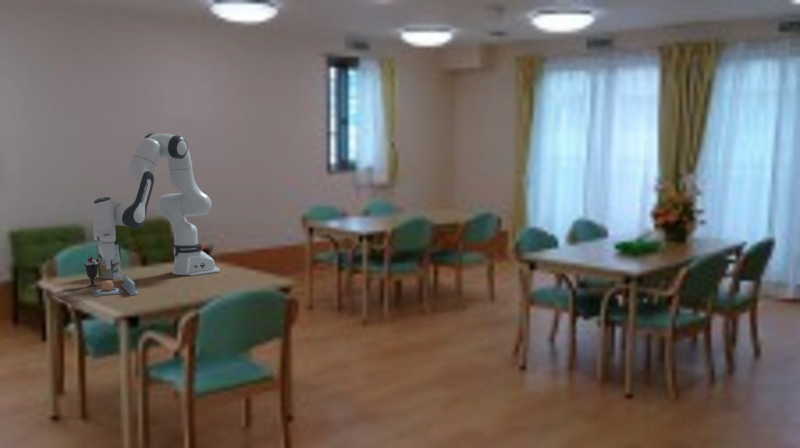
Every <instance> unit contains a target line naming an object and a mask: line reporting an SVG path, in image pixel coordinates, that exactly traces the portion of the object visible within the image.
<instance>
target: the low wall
mask: <svg viewBox="0 0 800 448" xmlns="http://www.w3.org/2000/svg"><path fill="white" fill-rule="evenodd" d="M122 277H123V284H121V287H122V288H123V289H124V290H125V292H126V293H128V294H129V296H138V295H139V293H138V291H137V290H136V283H135V282H134V280H133V279H131V278H130V277H129V275H127V274H123V275H122Z"/></svg>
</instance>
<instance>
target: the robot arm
mask: <svg viewBox="0 0 800 448" xmlns="http://www.w3.org/2000/svg"><path fill="white" fill-rule="evenodd" d="M188 146H189V144H188V142H187V140H186V138H185V137H183V136H181V135H175V134H172V133H157V132H151V133H147V135H145V136H144V138H143V139H141V140H140V142H139V143H138V144H137V147H136V148H135V149H134V151H133V153H132V156H131V157H130V160H129V161H128V165H127V170H128V173H129V175H130V176H131V178H132V179H134V180H135V181H136V182H137V189H136V192H135V195H134V199H133V201H132V202H131V203H130V204H128V203H122V202H119V201H116V200H114V198H113V199H112V197H110V196H105V197H99V198H96V199H95V200H94V201H93V203H92V210H91V211H92V212H91V214H92V221H93V226H92V227H93V232H92V233H93V240H94V241H95V242H97V244H96V245H98V250H99V253H100V255H101V256H102V261H103V265H106V269H111V260H113V259H114V244H115V242H116V241H117V240H116V239H117V234H116V226H120V227H121V226H122V227H123V226H124V227H127V228H131V229H138V228H141V226H143V225H144V223H145V222H146V220H147V219H146V218H147V211H148V205H149V202H150V198H151V194H152V193H153V192H152V191H153V188H154V184H155V176H154V173H155V170H156V166H157V164H158V163H159V162H158V161H159V159H160V158H162V159H165V158H167V169H168V175H169V176H168V177H169V182H170V184H171V186H172V187H175V188H176V189H178V190H180V191H181V193H167V194H163V195H161V196H159V199H158V202H157V208H158V211H159V212H160V214H161V215H163V216H164V217H165V218H166V219H167V220H168V221H169V222H170V224H171V227H172V230H173V237H174V239H173V240H174V245H173V256H174V262H173V269H172V274H173V275H178V276H179V275H180V276H189V277H190V276H192V277H193V276H198V275H205V274H206V275H207V274H213V273H219V272H221V271H220V268H219V267H218V266H216V264H215V261H214V258H213V257H211V256H210V255H209V254H207V253H206V252H205V251H203V250H204V249H205V248H206V246H205V245H204V244H201V243H199V238H198V235H199V234H198V228H197V226H196V225H195V224H193V223H191V222H189V221H188V220H187V218H186V217H201V216H205V215H208V214H209V213H210V212H211V210H212V205H213V204H212V199H211V198H210V197H209V196H208V195H207V194H205V193H204V192H203V190H201V189H200V187H199V186H198V185H197V182H196V180H195V176H194V171H193V162H192V158H191V154H190V153H191V152H190V150H189V147H188Z"/></svg>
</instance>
